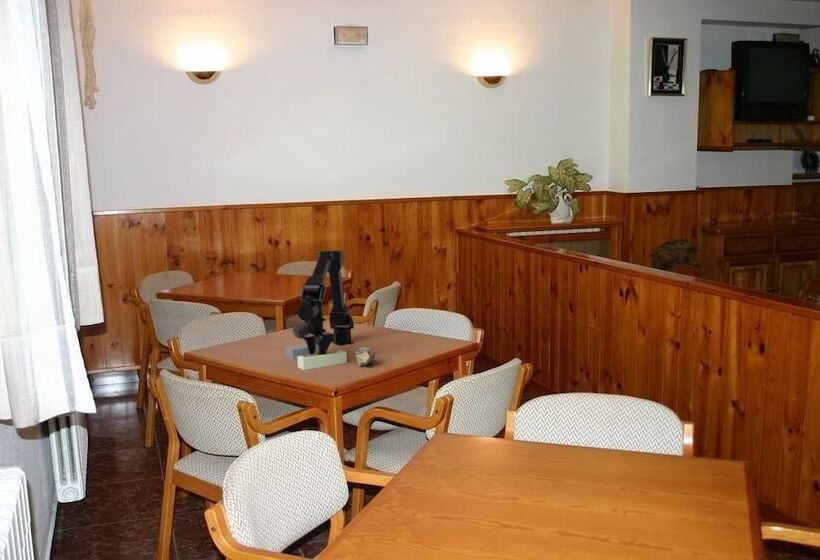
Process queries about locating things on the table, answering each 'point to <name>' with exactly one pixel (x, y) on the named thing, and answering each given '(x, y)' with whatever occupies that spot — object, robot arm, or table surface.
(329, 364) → the board
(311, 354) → the roller
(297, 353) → the slab
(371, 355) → the rock
